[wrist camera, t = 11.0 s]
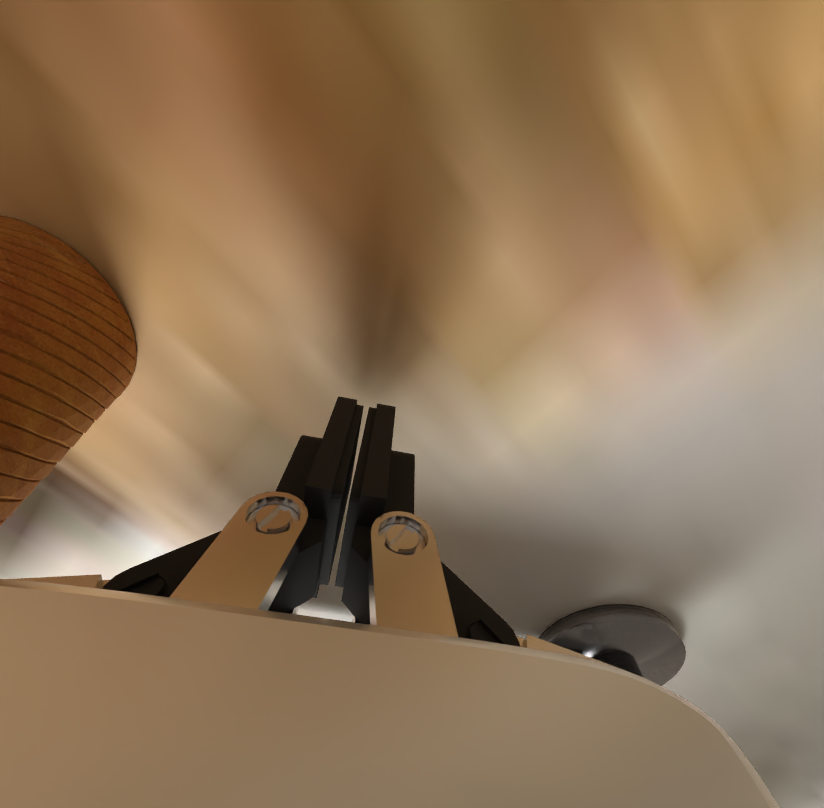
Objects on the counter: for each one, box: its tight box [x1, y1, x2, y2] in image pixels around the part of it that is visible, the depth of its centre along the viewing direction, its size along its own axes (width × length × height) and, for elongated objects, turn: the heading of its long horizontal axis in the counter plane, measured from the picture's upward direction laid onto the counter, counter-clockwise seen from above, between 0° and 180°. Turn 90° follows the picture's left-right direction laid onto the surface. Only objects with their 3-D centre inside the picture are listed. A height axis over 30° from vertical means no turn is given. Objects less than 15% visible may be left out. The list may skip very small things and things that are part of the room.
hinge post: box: [539, 605, 686, 686], centre depth 16 cm, size 7×7×11 cm
